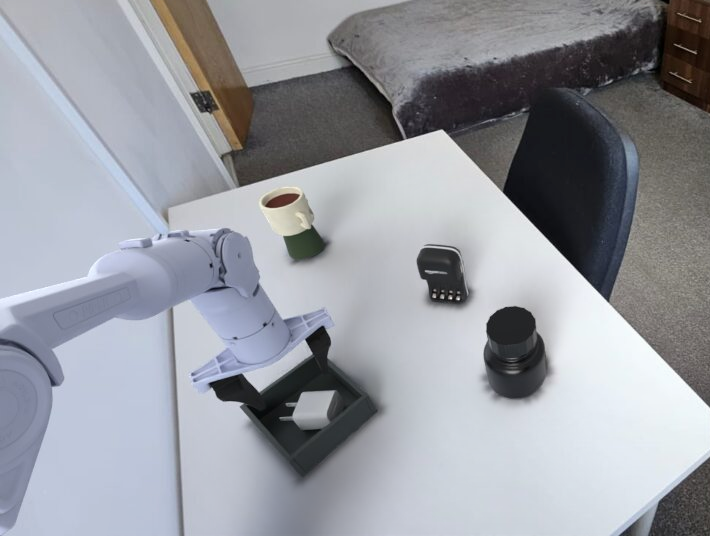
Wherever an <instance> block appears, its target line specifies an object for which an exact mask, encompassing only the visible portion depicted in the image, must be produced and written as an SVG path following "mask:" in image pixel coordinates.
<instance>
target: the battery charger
mask: <svg viewBox="0 0 710 536" xmlns="http://www.w3.org/2000/svg"><path fill="white" fill-rule="evenodd" d="M416 267H417V271H418V274H419V278H420V279H421V280H422V281H426V284H427V289H428V296H429V299H430V301H432V302H435V303H445V304H453V305H454V304H455V305H459V304H460V305H461V304H462V303H464V302H466V300H467V298H468V297H469V293H470V291H469V287H468V281H467V276H466V269H465V264H464V258H463V255H462V253H461V251H460V249H459V248H458V247H456V246H454V245H453V246H452V245H445V244H434V243H427V244H424V245H423V246H422V247H421V248H420V249H419V253H418V255H417V257H416Z"/></svg>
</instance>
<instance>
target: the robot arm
mask: <svg viewBox="0 0 710 536" xmlns="http://www.w3.org/2000/svg"><path fill="white" fill-rule="evenodd" d="M118 245H119V250H115V251H112V252H109V253H106V254H104V255H102V256H100V258H98V259H97V260H96V261H95V262H94V263H93V264H92V266H91V267H90V269H89V271H88V273H87V276H84V277H80V278H76V279H72V280H69V281H64V282H60V283H57V284H53V285H49V286H45V287H44V286H43V287H41V288H36V289H33V290H29V291H25V292H21V293H17V294H14V295H10V296H6V297H2V298H0V536H3V535H5V534H6V533H8V532H9V531H10V530H11V529H13V528H14V526H15V525H16V523H17V520H18V518H19V513H20V510H21V508H22V505H23V502H24V498H25V496H26V492H27V490H28V486H29V483H30V480H31V477H32V475H33V471H34V468H35V466H36V465H35V464H36V462H37V460H38V456H39V453H40V450H41V447H42V444H43V441H44V438H45V435H46V431H47V429H48V425H49V422H50V418H51V414H52V409H53V400H54V398H53V397H54V396H53V388H56V387H61V385H62V384H63V383H64V381H65V375H64V372H63V368H62V366H61V365H62V364H61V363H60V361H59V358H58V357H57V355H56V353H55V351H54V350H53V349H55V348H57V347H60V346H61V345H63V344H66V343H68V342H70V341H71V340H73V339H75V338H78V337H80V336H81V335H83V334H85V333H87V332H89V331H91V330H93V329H95V328H97V327H99V326H101V325H103V324H105V323H107V322H109V321H111V320H113V319H114V318H116V319H120V320H123V321H131V322H132V321H133V322H134V321H143V320H148V319H150V318H153V317H156V316H157V315H159V314H161V313H164V312H165V311H168V310H170V309H173V308H174V307H176V306H178V305H181V304H183V303H185V302H187V301H190V303H191V304H192V305H193V307H194V308H195V309H196V311H198V313H199V314H200V315H201V316H202V318H203V319H204V320H205V322H206V323H207V324H208V325H209V326H210V327H211V329H212V330H213V331H214V332H215V334H216V335H217V336H218V337H219V339H220V340H221V341H222V342H223V344H224V345H225V346H226V348H224V349H223V350H222V351H220V352H219V353H218V354H216V355H215V356H214V357H212V358H211V359H210V360H208V361H206V362H205V363H204V364H202V365H200V366H199V367H197V368H196V369H194V370H192V371H190V372H188V377H189V380H190V381H189V382H190V384H191V386H192V387H193V388H194V390H196V391H197V392H198V394H200V395H203V394H205V393H207V392H208V391H211V389H212V391H214V393H215V397H216V398H217V399H218V400H219V401H221V402H224V403H226V402H235V403H241V404H247V405H250V406H253V407H255V408H257V409H258V410H260V411H262V410H263V409H265V408H266V405H265V403H264V400H263V398H262V396H261V394H260V393H259V392H260V391H258V389H257V388H256V387H255V386H254V385H253V384H252V383H251V382H250V381H249V380H248V379H247V377H246V376H245V375H244V374H246V373H249V372H253V371H256V370H259V369H260V370H261V369H263V368H267V367H269V366H272V365H273V364H275V363H277V362H279V361H280V360H282V359H283V358H284V357H286V355H288V354H289V353H290V352H292V351H293V350H294V349H295V348H296V347H298V346H299V345H300V344H301V343H302V342H303V341H305V342H306V344H307V346H308V348H309V349H310V352H311V355H312V354H313V355H314V357H315V359H316V361H317V363H318V365H319V366H320V368H321V370H322V372H323V374H324V375H326V374H328V373H329V372H330V371H329V369H328V359H329V358H328V357H329V352H330V348H331V345H332V339H331V336H330V334H329V333H328V330H330V329H331V328H333V327H335V322H334V321H333V319H332V316H331V314H330V313H329V312H328V310H327V309H326V307H325V306H323V307H321V308H318V309H317V310H314V311H310V312H307V313H303V314H299V315H295V316H291V317H287V318H283V317H282V316H281V314H280V313H279V311H278V310H277V308H276V307H275V305H274V304H273V302H272V299H270V297H269V295H268V294H267V292H266V291H265V289H264V287H263V286H262V285H261V283H260V279H261V275H260V270H259V268H258V267H257V265H256V263H255V260H254V253H253V248H252V244H251V242H250V240H249V238H248V236H247V235H245V236H244V235H243V234H242V233H240V232H236V231H234V230H232V229H231V228H229V227H220V228H211V229H200V230H199V229H198V230H190V231H189V230H187V229H179V230H172V231H168V232H166V233H165V234H162V233H160V232H159V233H157V234H155V235H153V236H152V238H151V237H141V238H131V239H126V240H121V241H120V242H119V243H118Z"/></svg>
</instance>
